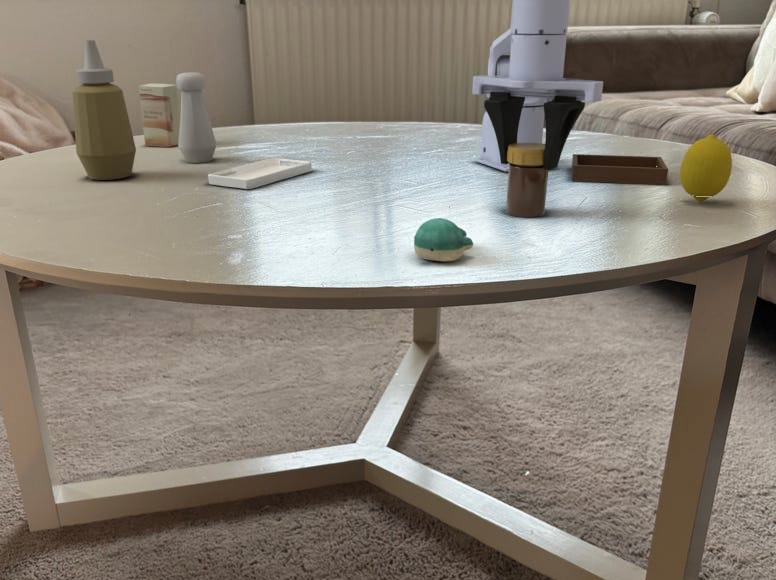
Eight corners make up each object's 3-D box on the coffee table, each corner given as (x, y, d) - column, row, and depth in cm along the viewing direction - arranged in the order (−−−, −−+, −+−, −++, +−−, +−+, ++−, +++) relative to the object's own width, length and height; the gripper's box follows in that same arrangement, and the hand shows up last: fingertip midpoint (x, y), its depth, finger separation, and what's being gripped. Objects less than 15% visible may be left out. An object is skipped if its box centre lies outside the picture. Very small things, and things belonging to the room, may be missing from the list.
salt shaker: (221, 157, 122) (214, 71, 116) (211, 164, 117) (203, 74, 111) (186, 157, 123) (177, 71, 117) (174, 163, 117) (164, 74, 112)
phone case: (249, 190, 100) (313, 170, 111) (248, 179, 99) (313, 161, 111) (206, 184, 103) (273, 166, 115) (205, 174, 103) (273, 157, 114)
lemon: (694, 209, 88) (707, 139, 85) (665, 199, 93) (676, 132, 90) (734, 206, 90) (748, 136, 86) (704, 196, 95) (716, 130, 91)
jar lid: (505, 164, 84) (506, 148, 83) (509, 157, 88) (510, 141, 87) (550, 166, 83) (552, 150, 82) (552, 158, 87) (553, 143, 86)
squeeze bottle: (122, 183, 104) (102, 41, 96) (69, 181, 105) (45, 41, 98) (149, 172, 111) (132, 39, 104) (99, 170, 113) (78, 39, 105)
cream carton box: (144, 146, 133) (136, 85, 128) (157, 142, 136) (150, 83, 132) (170, 147, 131) (163, 86, 127) (183, 143, 135) (176, 83, 131)
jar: (498, 211, 88) (502, 150, 86) (527, 206, 90) (532, 147, 88) (522, 219, 85) (527, 156, 82) (552, 214, 87) (558, 152, 84)
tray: (571, 181, 104) (573, 165, 103) (571, 168, 112) (573, 154, 111) (665, 185, 101) (668, 169, 100) (658, 171, 109) (661, 156, 108)
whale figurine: (401, 261, 71) (401, 221, 70) (427, 241, 77) (428, 204, 76) (460, 268, 69) (462, 227, 67) (482, 247, 75) (485, 209, 74)
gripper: (460, 34, 81) (454, 163, 87) (588, 36, 73) (573, 178, 78) (493, 32, 86) (486, 154, 92) (617, 34, 78) (601, 168, 83)
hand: (528, 165), depth 85 cm, fingers closed on jar lid, 5 cm apart
